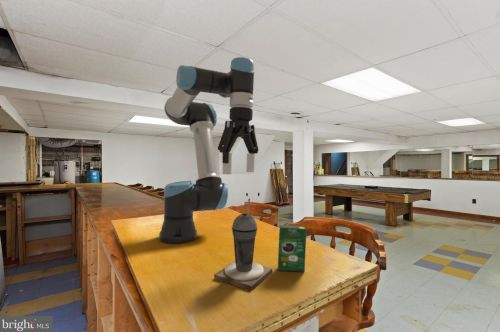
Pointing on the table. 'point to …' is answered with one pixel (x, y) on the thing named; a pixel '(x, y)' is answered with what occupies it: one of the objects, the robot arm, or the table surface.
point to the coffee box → (292, 248)
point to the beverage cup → (244, 240)
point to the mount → (243, 276)
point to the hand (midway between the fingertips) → (239, 173)
